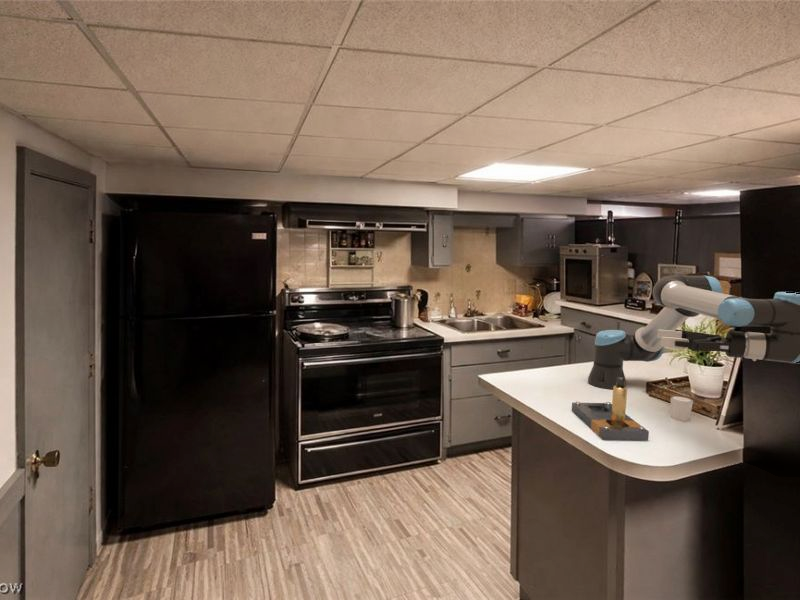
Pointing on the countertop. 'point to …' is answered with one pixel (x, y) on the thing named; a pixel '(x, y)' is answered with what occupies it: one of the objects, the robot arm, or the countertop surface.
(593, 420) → the housing
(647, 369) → the countertop surface
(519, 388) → the countertop surface
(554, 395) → the countertop surface
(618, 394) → the tall gold bottle
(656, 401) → the countertop surface
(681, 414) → the shot glass
